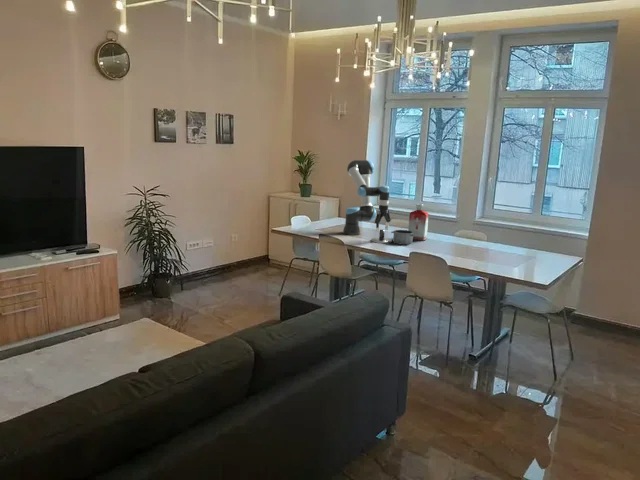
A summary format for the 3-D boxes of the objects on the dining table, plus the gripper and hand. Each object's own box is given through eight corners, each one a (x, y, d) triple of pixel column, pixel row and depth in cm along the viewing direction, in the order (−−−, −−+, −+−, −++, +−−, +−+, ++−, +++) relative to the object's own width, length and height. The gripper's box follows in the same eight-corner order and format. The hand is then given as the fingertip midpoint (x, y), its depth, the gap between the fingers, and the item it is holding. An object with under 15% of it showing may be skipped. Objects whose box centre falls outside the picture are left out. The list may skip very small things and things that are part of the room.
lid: (367, 241, 422) (368, 229, 420) (378, 238, 434) (379, 227, 432) (384, 244, 412) (385, 232, 410) (395, 241, 424) (395, 230, 422)
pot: (387, 241, 421) (387, 231, 419) (397, 239, 433) (397, 228, 431) (408, 245, 408) (409, 234, 406) (418, 243, 420) (419, 232, 418)
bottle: (407, 239, 435) (409, 204, 429) (410, 237, 444) (413, 202, 438) (423, 241, 429) (426, 205, 423) (427, 239, 438) (430, 204, 432)
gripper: (379, 206, 405) (377, 232, 409) (395, 204, 424) (394, 229, 428) (371, 205, 410) (369, 231, 414) (388, 203, 429) (386, 228, 433)
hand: (382, 230), depth 421 cm, fingers open, 13 cm apart
